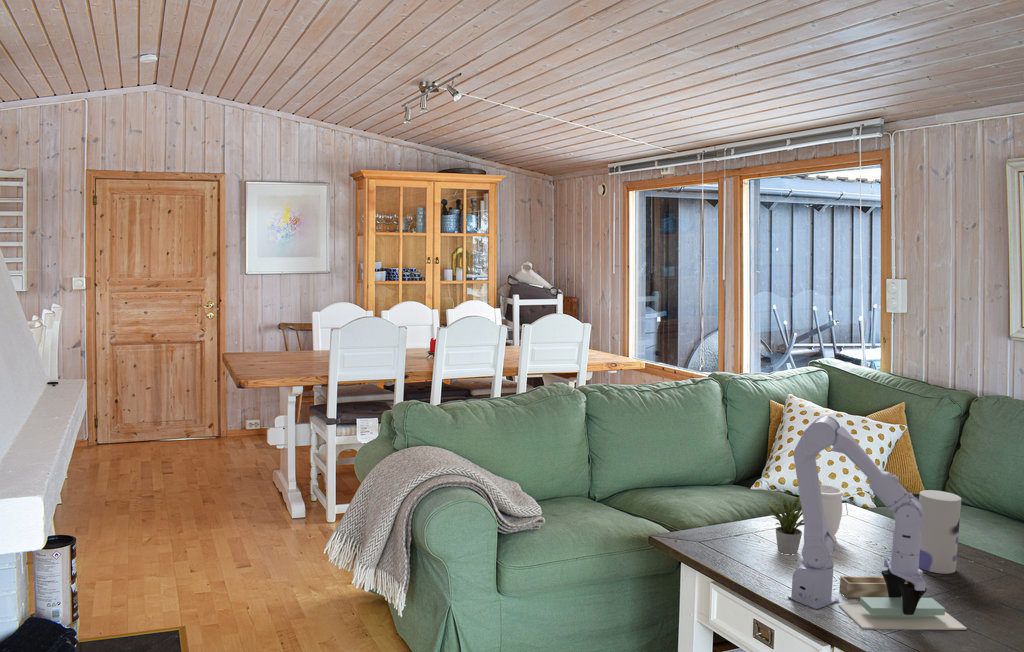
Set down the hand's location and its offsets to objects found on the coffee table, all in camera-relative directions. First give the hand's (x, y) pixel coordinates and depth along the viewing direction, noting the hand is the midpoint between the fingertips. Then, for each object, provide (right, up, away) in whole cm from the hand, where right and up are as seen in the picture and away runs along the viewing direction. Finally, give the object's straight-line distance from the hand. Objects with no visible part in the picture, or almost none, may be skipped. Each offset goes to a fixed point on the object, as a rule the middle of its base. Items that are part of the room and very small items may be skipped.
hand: (901, 608), depth 191 cm
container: (+24, 0, +33) cm, 41 cm away
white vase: (+1, +2, +53) cm, 53 cm away
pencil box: (-1, -1, +12) cm, 12 cm away
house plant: (-11, +2, +41) cm, 43 cm away
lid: (0, 0, 0) cm, 0 cm away
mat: (0, -2, 0) cm, 2 cm away
